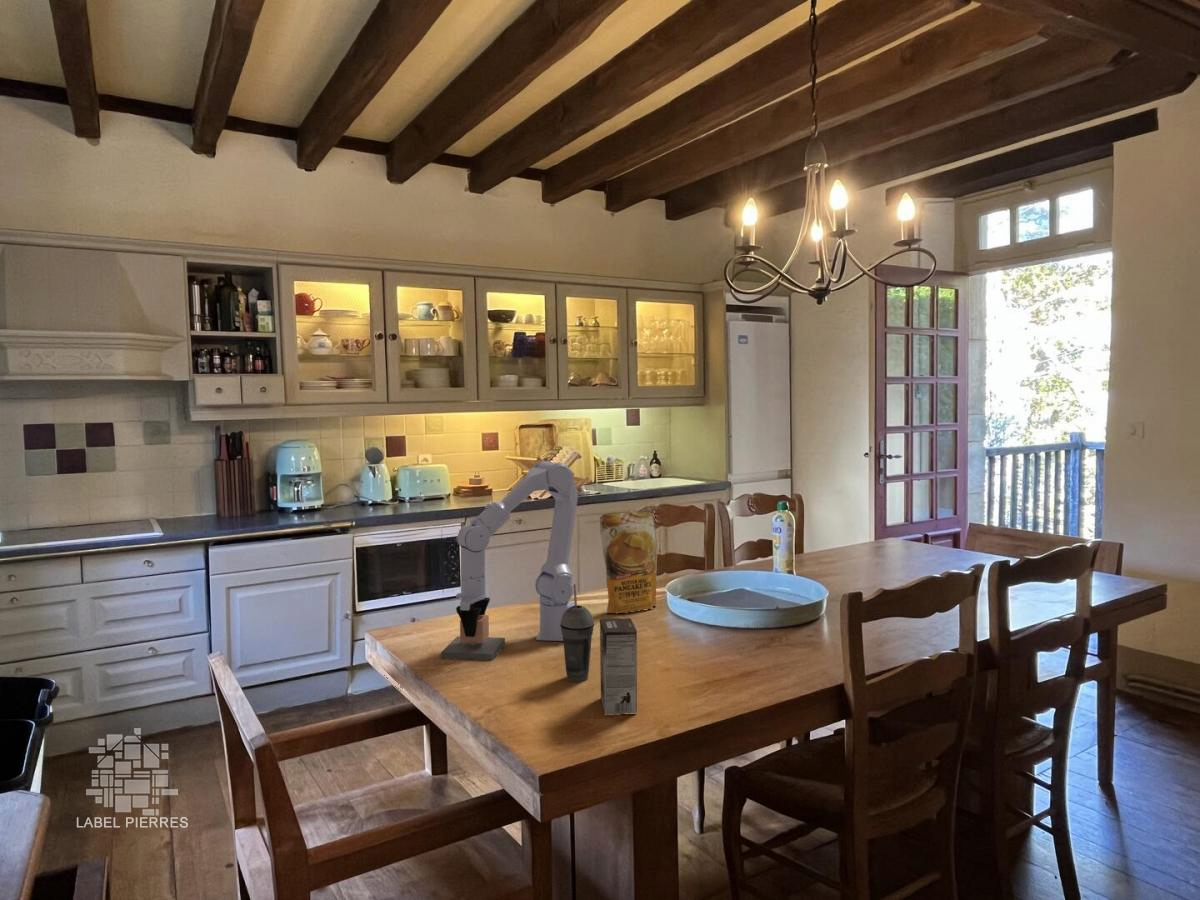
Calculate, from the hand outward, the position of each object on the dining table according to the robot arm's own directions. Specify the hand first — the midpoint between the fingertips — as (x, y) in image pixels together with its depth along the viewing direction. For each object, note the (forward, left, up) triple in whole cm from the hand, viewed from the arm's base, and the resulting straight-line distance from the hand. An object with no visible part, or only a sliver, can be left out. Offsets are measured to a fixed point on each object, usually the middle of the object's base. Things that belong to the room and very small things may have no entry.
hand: (473, 632), depth 179 cm
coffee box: (-37, +29, -5) cm, 47 cm away
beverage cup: (-27, +15, -5) cm, 31 cm away
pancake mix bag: (-34, -40, -5) cm, 53 cm away
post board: (0, 0, -4) cm, 4 cm away
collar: (0, 0, -2) cm, 2 cm away
